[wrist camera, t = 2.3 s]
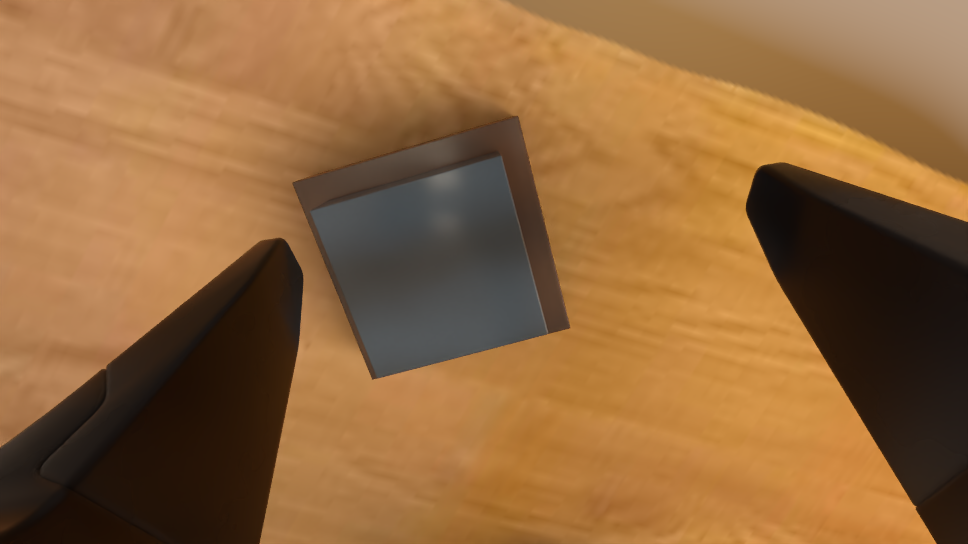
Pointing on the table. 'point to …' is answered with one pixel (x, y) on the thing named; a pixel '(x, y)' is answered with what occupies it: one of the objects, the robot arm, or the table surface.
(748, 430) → the table surface
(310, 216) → the block stack
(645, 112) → the table surface
